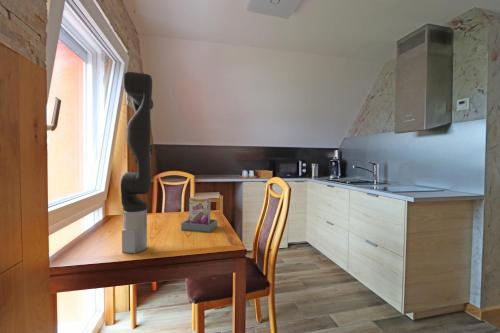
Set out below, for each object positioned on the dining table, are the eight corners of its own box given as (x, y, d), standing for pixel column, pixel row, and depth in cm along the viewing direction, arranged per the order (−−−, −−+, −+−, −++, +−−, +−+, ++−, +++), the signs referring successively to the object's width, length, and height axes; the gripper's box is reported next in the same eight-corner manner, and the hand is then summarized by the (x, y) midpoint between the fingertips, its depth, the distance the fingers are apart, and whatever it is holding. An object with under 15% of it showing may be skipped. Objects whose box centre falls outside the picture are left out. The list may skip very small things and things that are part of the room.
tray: (210, 232, 131) (210, 225, 131) (181, 230, 134) (181, 223, 134) (217, 226, 143) (217, 219, 142) (190, 224, 146) (190, 217, 145)
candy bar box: (188, 227, 136) (188, 198, 136) (191, 225, 141) (191, 196, 140) (208, 229, 135) (208, 199, 134) (210, 226, 140) (210, 197, 139)
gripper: (140, 132, 128) (140, 164, 129) (156, 134, 142) (156, 163, 143) (127, 132, 129) (128, 163, 130) (144, 134, 143) (145, 162, 144)
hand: (143, 163), depth 136 cm, fingers open, 8 cm apart
